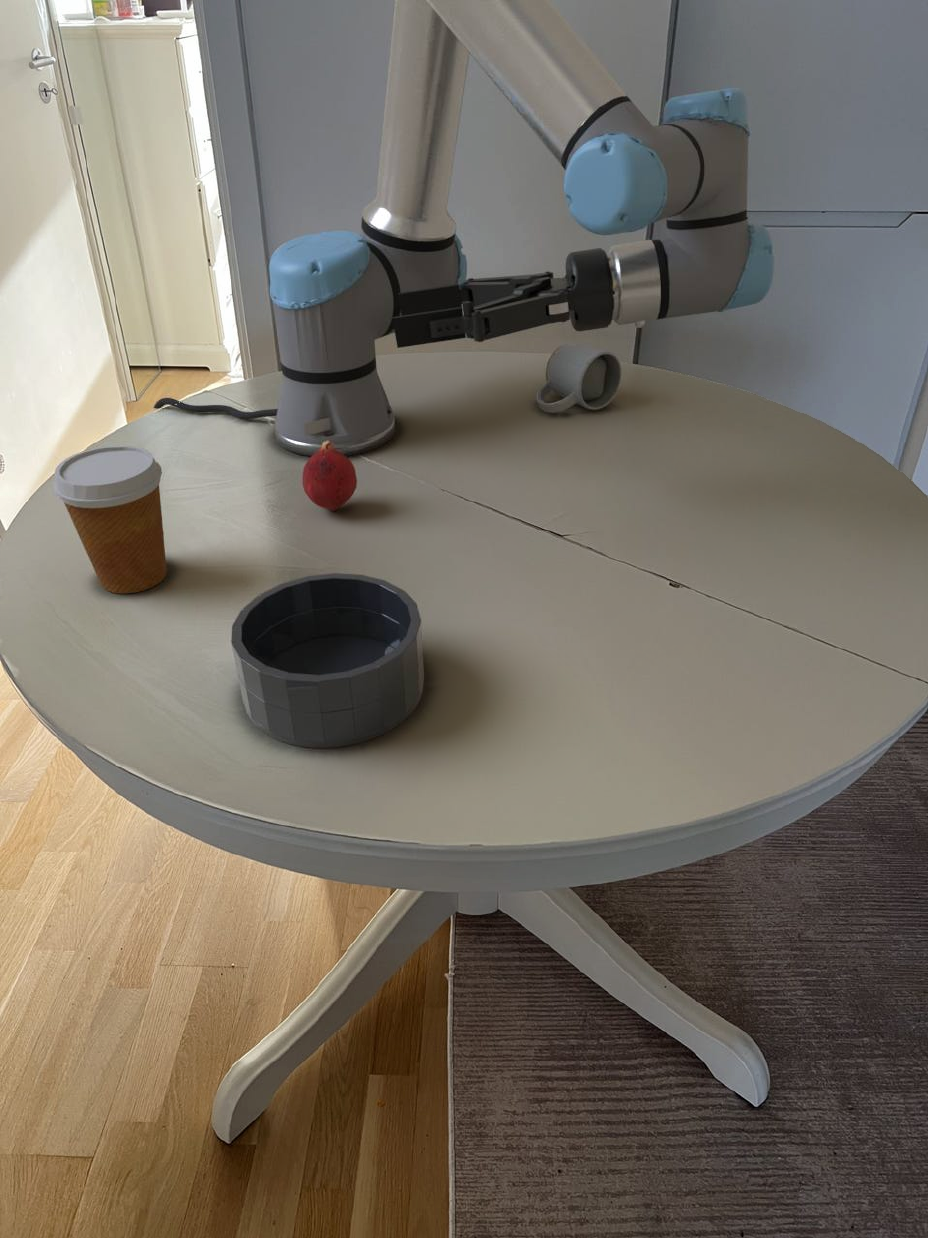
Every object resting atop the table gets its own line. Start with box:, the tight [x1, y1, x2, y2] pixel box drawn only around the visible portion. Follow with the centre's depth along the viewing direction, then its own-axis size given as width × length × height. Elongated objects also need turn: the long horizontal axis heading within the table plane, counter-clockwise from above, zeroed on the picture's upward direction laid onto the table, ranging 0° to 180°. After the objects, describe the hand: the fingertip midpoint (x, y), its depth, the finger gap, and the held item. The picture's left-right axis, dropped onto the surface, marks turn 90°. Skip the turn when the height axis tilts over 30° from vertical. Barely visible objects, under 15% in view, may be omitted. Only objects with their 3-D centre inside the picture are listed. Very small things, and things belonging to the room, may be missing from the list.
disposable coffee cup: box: [52, 444, 168, 595], centre depth 87 cm, size 10×10×12 cm
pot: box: [230, 572, 425, 749], centre depth 74 cm, size 15×15×6 cm
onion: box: [301, 441, 358, 512], centre depth 99 cm, size 6×6×8 cm
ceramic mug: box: [536, 343, 623, 414], centre depth 123 cm, size 11×8×8 cm
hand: (397, 318), depth 92 cm, fingers open, 13 cm apart
